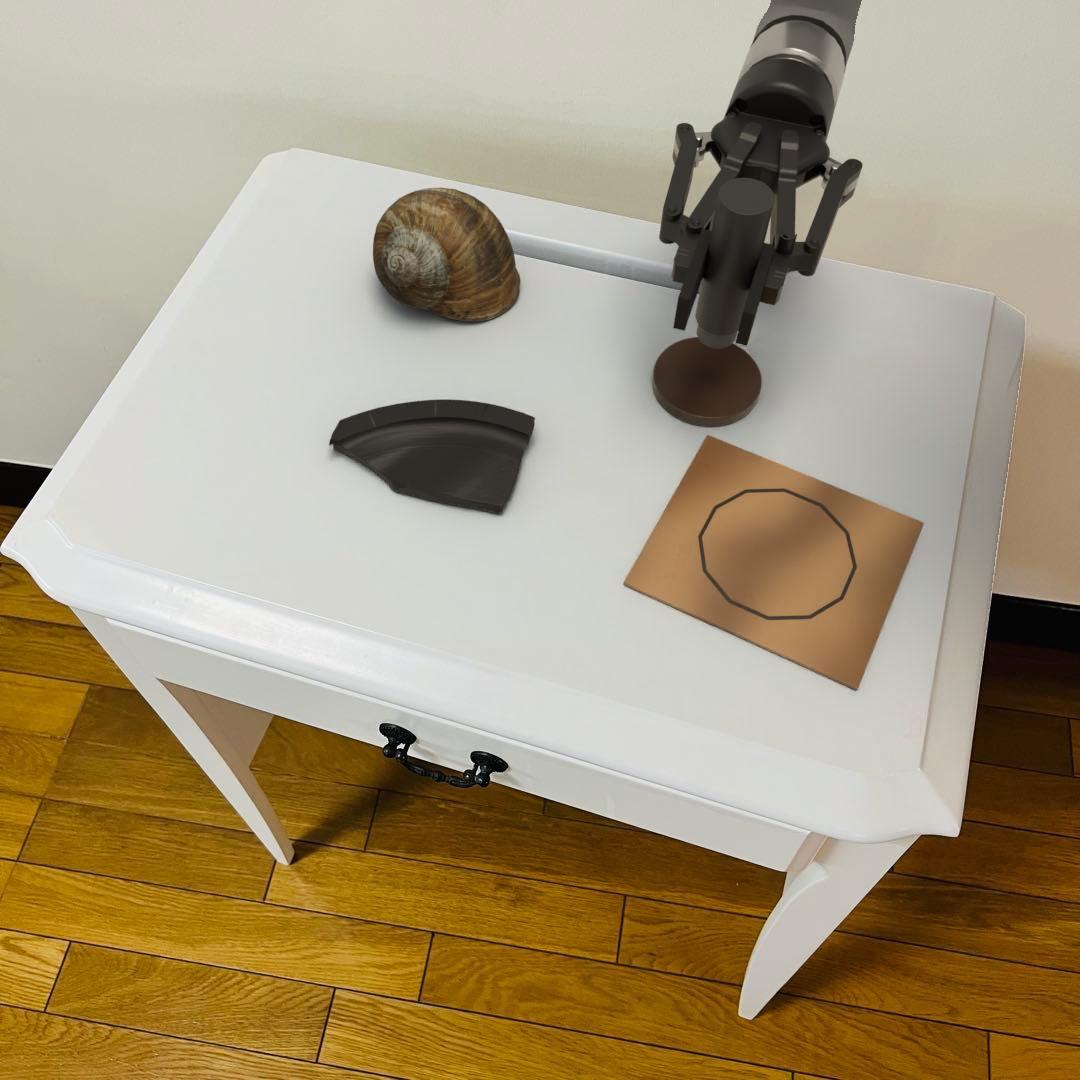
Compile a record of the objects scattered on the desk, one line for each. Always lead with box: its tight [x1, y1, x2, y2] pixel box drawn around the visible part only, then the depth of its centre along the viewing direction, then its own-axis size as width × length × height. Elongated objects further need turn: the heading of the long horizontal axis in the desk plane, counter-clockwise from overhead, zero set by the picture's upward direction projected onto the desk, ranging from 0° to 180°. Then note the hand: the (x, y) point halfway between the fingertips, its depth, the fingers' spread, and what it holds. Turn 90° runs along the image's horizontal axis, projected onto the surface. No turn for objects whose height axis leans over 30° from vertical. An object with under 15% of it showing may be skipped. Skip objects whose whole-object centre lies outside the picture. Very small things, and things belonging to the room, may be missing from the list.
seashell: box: [372, 187, 521, 322], centre depth 80 cm, size 11×9×8 cm
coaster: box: [651, 336, 763, 428], centre depth 77 cm, size 8×8×1 cm
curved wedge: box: [328, 398, 536, 514], centre depth 74 cm, size 8×14×2 cm, turn 74°
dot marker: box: [694, 178, 775, 348], centre depth 68 cm, size 3×3×12 cm
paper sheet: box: [623, 434, 924, 691], centre depth 70 cm, size 16×14×1 cm
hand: (713, 321), depth 65 cm, fingers closed on dot marker, 3 cm apart
